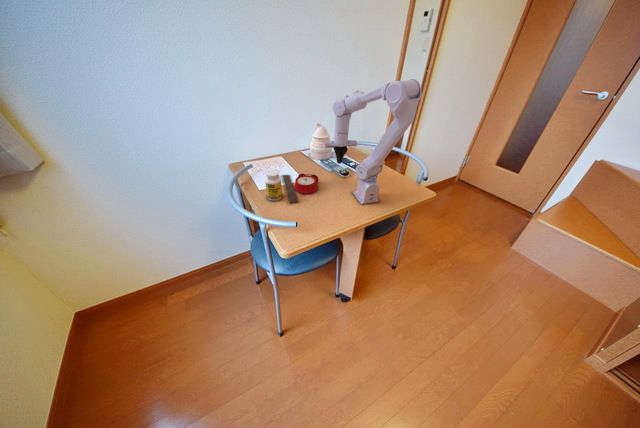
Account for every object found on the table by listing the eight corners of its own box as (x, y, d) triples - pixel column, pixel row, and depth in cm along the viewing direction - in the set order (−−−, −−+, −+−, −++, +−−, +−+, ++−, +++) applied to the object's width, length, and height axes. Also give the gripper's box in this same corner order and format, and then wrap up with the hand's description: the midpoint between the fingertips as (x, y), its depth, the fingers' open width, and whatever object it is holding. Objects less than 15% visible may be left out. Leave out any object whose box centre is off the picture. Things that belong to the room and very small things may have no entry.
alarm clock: (290, 187, 91) (297, 164, 101) (292, 197, 96) (299, 175, 105) (315, 189, 90) (320, 166, 100) (315, 199, 95) (320, 177, 104)
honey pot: (310, 159, 123) (310, 126, 112) (309, 150, 134) (309, 119, 123) (332, 159, 124) (335, 126, 113) (330, 150, 135) (331, 119, 124)
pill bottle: (268, 202, 88) (264, 177, 82) (266, 194, 93) (263, 170, 86) (283, 200, 90) (281, 175, 83) (281, 192, 94) (279, 168, 88)
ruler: (297, 202, 89) (297, 201, 88) (290, 203, 88) (290, 202, 88) (288, 175, 107) (288, 174, 107) (282, 176, 106) (282, 175, 106)
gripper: (354, 127, 94) (350, 157, 102) (321, 129, 91) (320, 160, 99) (360, 132, 89) (356, 164, 97) (326, 134, 86) (325, 167, 94)
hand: (339, 162), depth 98 cm, fingers closed
